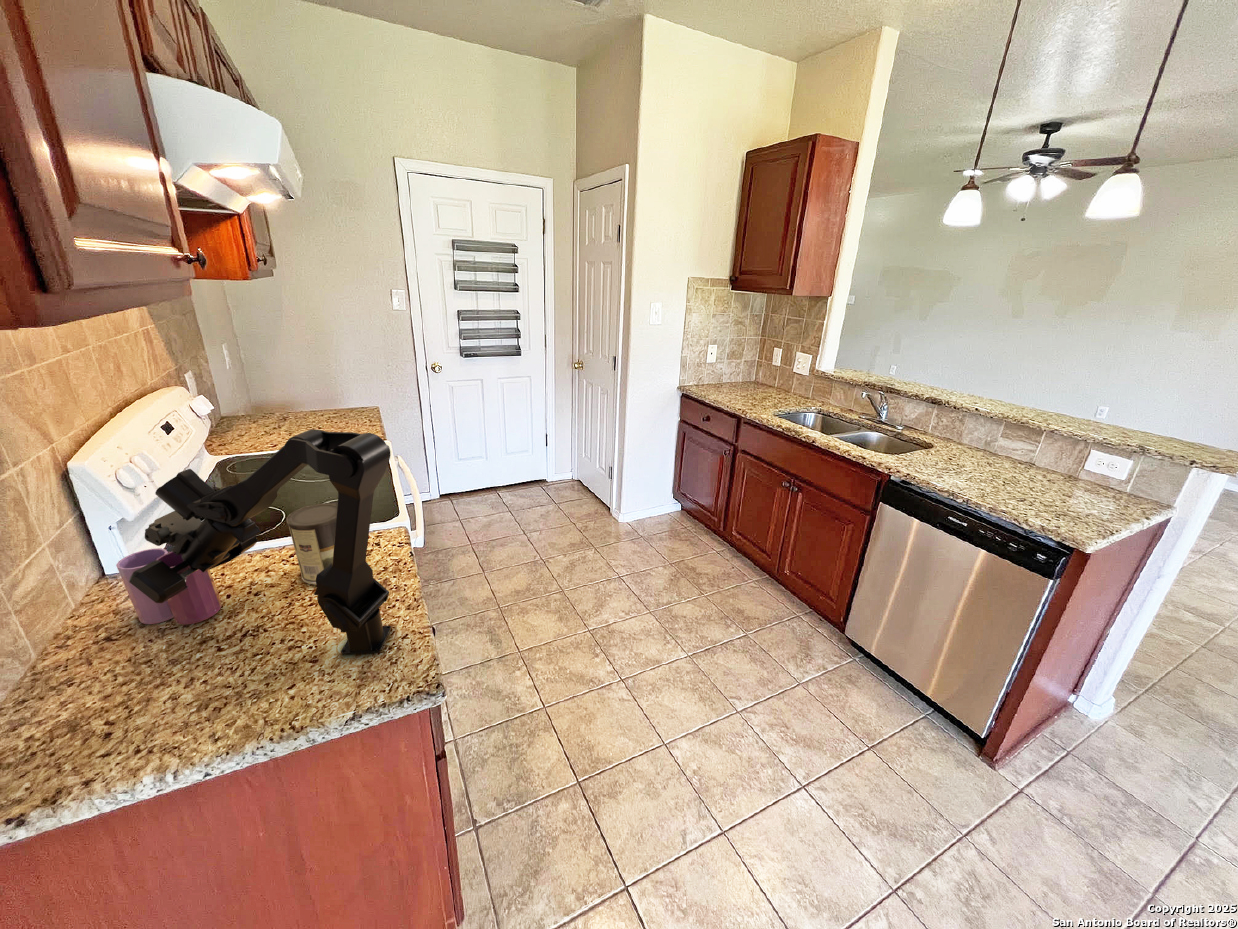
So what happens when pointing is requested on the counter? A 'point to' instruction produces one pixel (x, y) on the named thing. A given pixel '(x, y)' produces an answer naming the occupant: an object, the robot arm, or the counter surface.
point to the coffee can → (313, 538)
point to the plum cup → (193, 595)
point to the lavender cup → (142, 603)
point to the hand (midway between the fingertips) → (181, 581)
